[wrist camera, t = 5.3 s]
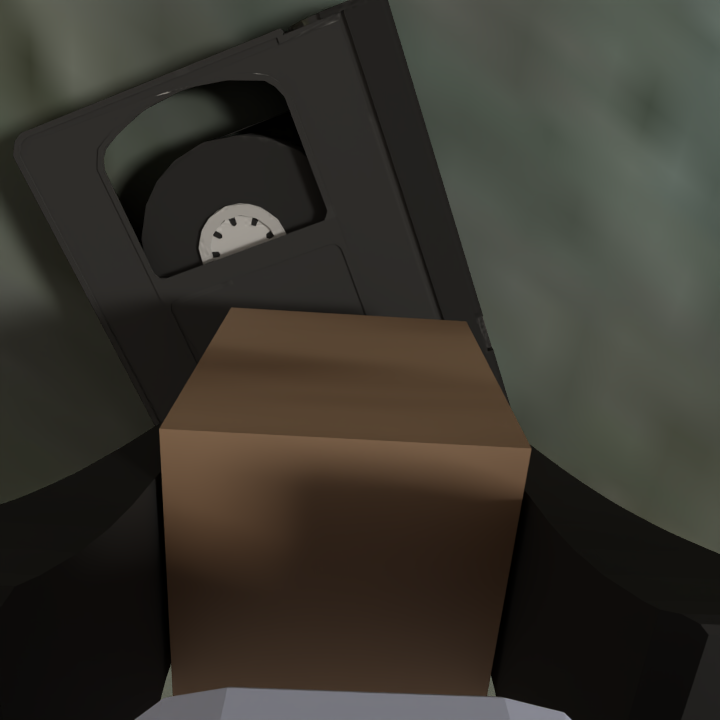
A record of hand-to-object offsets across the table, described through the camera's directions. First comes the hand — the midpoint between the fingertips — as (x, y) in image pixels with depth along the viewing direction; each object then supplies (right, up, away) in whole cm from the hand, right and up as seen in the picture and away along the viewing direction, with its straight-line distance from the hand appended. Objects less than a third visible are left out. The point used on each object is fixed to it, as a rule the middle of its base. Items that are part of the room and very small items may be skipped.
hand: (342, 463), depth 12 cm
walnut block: (0, +1, +1) cm, 2 cm away
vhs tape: (-1, +2, +5) cm, 5 cm away
